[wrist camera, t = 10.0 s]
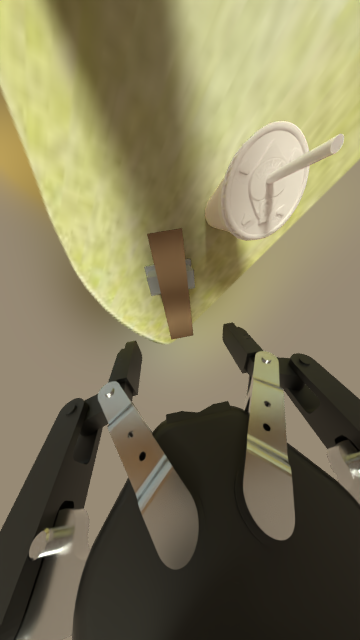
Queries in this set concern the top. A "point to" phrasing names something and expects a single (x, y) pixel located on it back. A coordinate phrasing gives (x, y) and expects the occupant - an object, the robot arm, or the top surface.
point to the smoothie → (265, 181)
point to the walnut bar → (172, 280)
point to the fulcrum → (154, 281)
